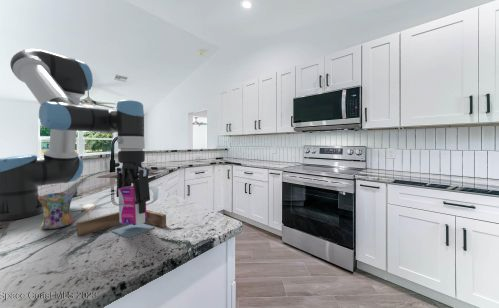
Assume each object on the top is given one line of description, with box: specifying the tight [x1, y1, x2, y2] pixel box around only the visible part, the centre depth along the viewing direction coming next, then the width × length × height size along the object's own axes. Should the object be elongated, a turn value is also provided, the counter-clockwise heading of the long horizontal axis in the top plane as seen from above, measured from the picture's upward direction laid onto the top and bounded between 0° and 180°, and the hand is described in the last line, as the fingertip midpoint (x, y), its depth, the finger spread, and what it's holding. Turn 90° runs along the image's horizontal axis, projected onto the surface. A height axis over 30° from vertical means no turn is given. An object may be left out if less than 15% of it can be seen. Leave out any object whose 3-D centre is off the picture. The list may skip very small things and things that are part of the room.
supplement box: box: [118, 184, 147, 226], centre depth 71 cm, size 6×6×12 cm
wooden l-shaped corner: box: [76, 209, 167, 237], centre depth 71 cm, size 17×19×4 cm
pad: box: [110, 223, 155, 238], centre depth 72 cm, size 9×9×1 cm
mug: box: [38, 191, 75, 230], centre depth 76 cm, size 12×9×11 cm
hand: (133, 221), depth 71 cm, fingers closed on supplement box, 7 cm apart
